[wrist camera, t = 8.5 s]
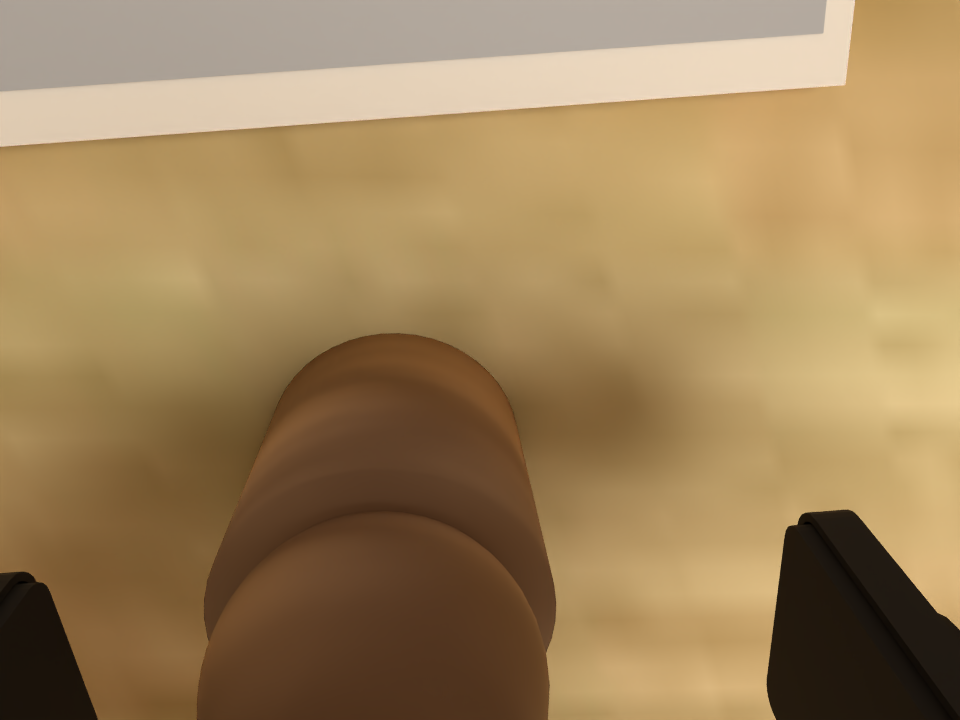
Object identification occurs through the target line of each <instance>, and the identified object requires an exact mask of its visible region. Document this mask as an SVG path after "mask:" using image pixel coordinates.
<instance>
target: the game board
mask: <svg viewBox="0 0 960 720" xmlns="http://www.w3.org/2000/svg"><path fill="white" fill-rule="evenodd" d="M854 4H855V0H0V147H3V146H16V145H30V144H44V143H58V142H71V141H85V140H99V139H112V138H126V137H140V136H153V135H167V134H181V133H194V132H208V131H222V130H236V129H249V128H263V127H277V126H290V125H304V124H318V123H331V122H345V121H359V120H372V119H386V118H400V117H414V116H427V115H441V114H455V113H468V112H482V111H496V110H509V109H523V108H537V107H551V106H564V105H578V104H592V103H605V102H619V101H633V100H646V99H660V98H674V97H687V96H701V95H715V94H729V93H742V92H756V91H770V90H783V89H797V88H811V87H824V86H838V85H845V82H846V74H847V65H848V56H849V48H850V39H851V30H852V22H853V13H854Z"/></svg>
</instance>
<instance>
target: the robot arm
mask: <svg viewBox="0 0 960 720" xmlns="http://www.w3.org/2000/svg"><path fill="white" fill-rule="evenodd" d="M767 693H768V698H769V702H770V705H771V708H772V711H773V713H774V716H775V718H776V720H960V630H959V629H958V628H957V627H956V626H955V625H954V624H953V623H952V622H951V621H950V620H949V619H948V618H947V617H945V616H943V615H941V614H939V613H937V612H936V611H935V609H934V608H933V607H932V606H931V604H930V603H929V602H928V601H927V600H926V598H925V597H924V596H923V595H922V594H921V592H920V591H919V590H918V589H917V587H916V586H915V585H914V584H913V583H912V581H911V580H910V579H909V578H908V576H907V575H906V574H905V573H904V572H903V570H902V569H901V568H900V567H899V565H898V564H897V563H896V562H895V561H894V559H893V558H892V557H891V556H890V554H889V553H888V552H887V551H886V550H885V548H884V547H883V546H882V545H881V543H880V542H879V541H878V540H877V539H876V537H875V536H874V535H873V534H872V532H871V531H870V530H869V529H868V528H867V526H866V525H865V524H864V523H863V521H862V520H861V519H860V518H859V517H858V516H857V515H856V514H855V513H854V512H853V511H850V510H836V511H823V512H810V513H804V514H802V515H801V517H800V518H799V521H798V525H793V526H789V527H788V528H787V530H786V533H785V538H784V546H783V554H782V562H781V570H780V578H779V586H778V594H777V602H776V610H775V618H774V626H773V634H772V642H771V650H770V658H769V666H768V674H767ZM0 720H98V718H97V716H96V713H95V710H94V708H93V705H92V703H91V700H90V697H89V695H88V692H87V689H86V687H85V684H84V681H83V679H82V676H81V673H80V671H79V668H78V665H77V663H76V660H75V657H74V655H73V652H72V649H71V647H70V644H69V641H68V639H67V636H66V633H65V631H64V628H63V625H62V623H61V620H60V617H59V615H58V612H57V609H56V607H55V604H54V601H53V599H52V596H51V593H50V591H49V589H48V587H47V586H46V585H45V584H44V583H40V582H36V580H35V579H34V577H33V576H32V575H31V574H29V573H27V572H12V573H0Z"/></svg>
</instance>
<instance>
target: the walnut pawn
mask: <svg viewBox="0 0 960 720" xmlns="http://www.w3.org/2000/svg"><path fill="white" fill-rule="evenodd" d="M555 616H556V598H555V589H554V583H553V578H552V574H551V570H550V566H549V561H548V557H547V553H546V549H545V544H544V540H543V536H542V532H541V527H540V523H539V519H538V515H537V510H536V506H535V502H534V498H533V493H532V489H531V485H530V481H529V476H528V472H527V468H526V464H525V459H524V455H523V451H522V447H521V442H520V438H519V434H518V430H517V425H516V421H515V418H514V414H513V411H512V408H511V406H510V404H509V401H508V399H507V397H506V395H505V394H504V392H503V390H502V389H501V387H500V386H499V384H498V383H497V382H496V380H495V379H494V378H493V377H492V376H491V374H490V373H489V372H488V371H487V370H486V369H485V368H483V367H482V366H481V365H480V364H479V363H478V362H477V361H475V360H474V359H473V358H471V357H470V356H468V355H467V354H465V353H464V352H462V351H460V350H458V349H456V348H454V347H452V346H450V345H448V344H445V343H443V342H440V341H437V340H434V339H431V338H426V337H422V336H417V335H409V334H399V333H397V334H377V335H370V336H364V337H360V338H357V339H353V340H350V341H347V342H344V343H342V344H340V345H337V346H335V347H333V348H331V349H329V350H327V351H326V352H324V353H322V354H320V355H319V356H317V357H316V358H315V359H313V360H312V361H311V362H310V363H308V364H307V365H306V366H305V367H304V368H303V369H302V370H301V371H300V372H299V373H298V374H297V375H296V376H295V377H294V378H293V380H292V381H291V383H290V384H289V385H288V387H287V388H286V390H285V391H284V393H283V395H282V397H281V399H280V401H279V403H278V405H277V408H276V410H275V413H274V415H273V418H272V420H271V423H270V425H269V428H268V430H267V432H266V435H265V437H264V440H263V442H262V445H261V447H260V450H259V452H258V455H257V457H256V460H255V462H254V465H253V467H252V469H251V472H250V474H249V477H248V479H247V482H246V484H245V487H244V489H243V492H242V494H241V497H240V499H239V501H238V504H237V506H236V509H235V511H234V514H233V516H232V519H231V521H230V524H229V526H228V529H227V531H226V534H225V536H224V538H223V541H222V543H221V546H220V548H219V551H218V553H217V556H216V558H215V561H214V563H213V566H212V569H211V572H210V575H209V578H208V581H207V586H206V592H205V598H204V620H205V625H206V631H207V637H208V640H209V644H208V646H207V649H206V653H205V656H204V660H203V664H202V668H201V674H200V680H199V686H198V697H197V720H548V706H549V686H550V685H549V675H548V666H547V658H546V652H547V649H548V646H549V644H550V641H551V638H552V634H553V629H554V624H555Z"/></svg>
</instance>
